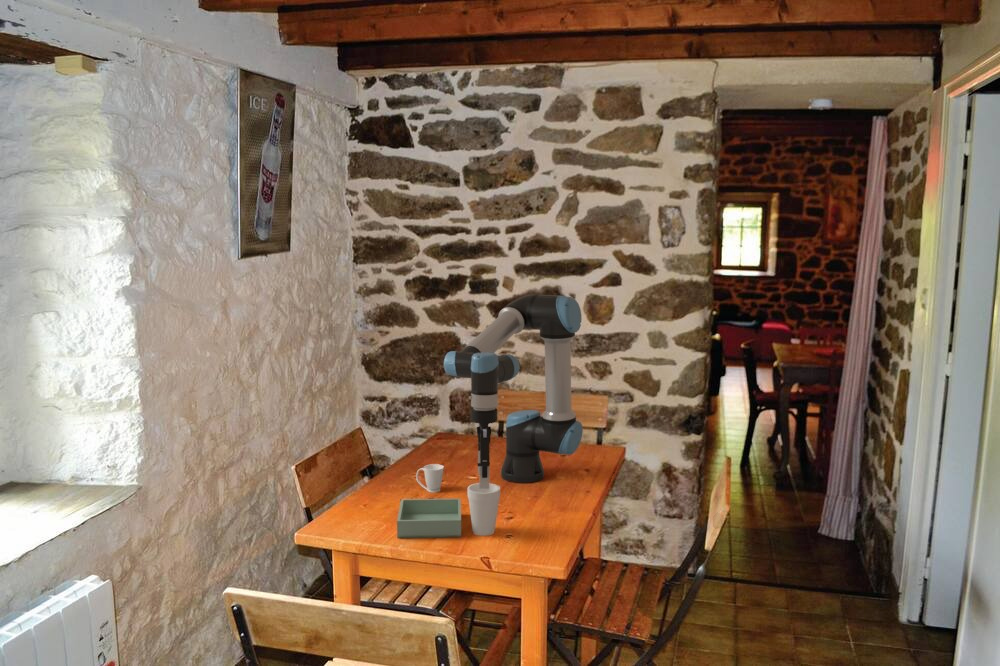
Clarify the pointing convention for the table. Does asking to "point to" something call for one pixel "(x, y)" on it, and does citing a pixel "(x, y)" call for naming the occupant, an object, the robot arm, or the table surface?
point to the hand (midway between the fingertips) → (483, 480)
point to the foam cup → (483, 508)
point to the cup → (432, 477)
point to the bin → (429, 518)
